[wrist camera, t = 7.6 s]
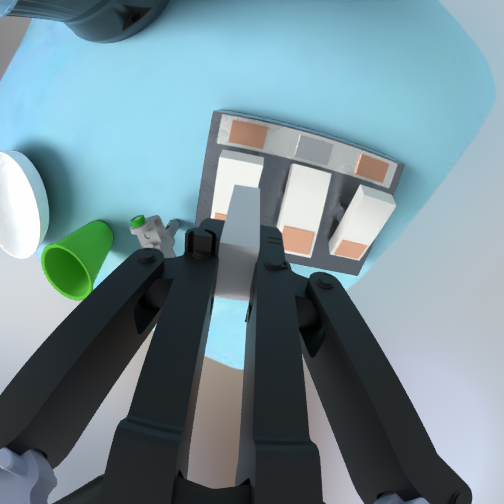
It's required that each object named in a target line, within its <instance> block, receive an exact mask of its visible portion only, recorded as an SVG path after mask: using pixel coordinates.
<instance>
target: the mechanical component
mask: <svg viewBox="0 0 504 504" xmlns="http://www.w3.org/2000/svg"><path fill="white" fill-rule="evenodd" d="M130 222H131V224H132V225H131V227H130V231H131V233H132V234H133V235H137V237H138V239H139V241H140V244H141V246H142V247H141V249H142V248H155V249H158V250H160V251H161V252H162V253H163V254H164V258H173V257H176V256H175V253H174V251H173V248H172V246H173V245H174V242H175V240H174V235H175V233H176V231H177V230H178V228H179V226H180V222H179V220H177V219H175V220H174V221H172V220H170V222H169V223H168V225H167V226H166V228H164V226H163V223H162V220H161V218H160V217H159V216H158V215H155V216H152V217H148V218H144V215H139V216H136V217H134V218H133V219H132V220H131V221H130Z"/></svg>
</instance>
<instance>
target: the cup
mask: <svg viewBox="0 0 504 504" xmlns="http://www.w3.org/2000/svg"><path fill="white" fill-rule="evenodd" d="M112 244H113V233H112V230H111V229H110V227H109V226H108V225H107V224H106V223H104V222H102V221H92V222H90V223H88V224H87V225H85V226H83V227H81V228H80V229H78V230H76V231H75V232H73V233H71V234H70V235H68V236H66V237H65V238H63V239H61V240H60V241H58V242H57V243H55V244H50V245H48V246H46V247H45V249H44V250H43V253H42V257H41V263H42V268H43V271H44V274H45V275H46V277H47V279H48V281H49V282H50V283H51V285H52V286H53V287H54V288H55V289H56V290H57V291H58V292H60V293H61V294H62V295H64V296H66V297H67V298H70V299H73V300H79V301H80V300H84V299H85V298H86V297H87V296H88V295H89V294H90V293H91V292H92V290H93V284H94V281H95V279H96V277H97V275H98V273H99V271H100V268H101V266H102V264H103V262H104V260H105V258H106V256H107V254H108V252H109V250H110V248H111V246H112Z"/></svg>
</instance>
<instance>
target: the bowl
mask: <svg viewBox="0 0 504 504" xmlns="http://www.w3.org/2000/svg"><path fill="white" fill-rule="evenodd" d="M48 225H49V205H48V198H47V193H46V189H45V186H44V183H43V181H42V179H41V176H40V174H39V173H38V171H37V170H36V168H35V167H34V165H33V164H32V163H31V161H30V160H29V159H28V158H27V157H26V156H24V155H23V154H22V153H20V152H17V151H12V150H1V151H0V247H1V248H2V249H3V250H4V251H5V252H7V253H8V254H10V255H11V256H14V257H16V258H22V259H24V258H29V257H30V256H32V255H33V254H34V253H35V252H36V250H37V249H38V248H39V246H40V245H41V244H42V242H43V239H44V237H45V235H46V232H47V230H48Z"/></svg>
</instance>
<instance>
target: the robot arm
mask: <svg viewBox="0 0 504 504" xmlns="http://www.w3.org/2000/svg"><path fill="white" fill-rule="evenodd" d="M168 2H169V0H0V17H3V16H18V17H30V18H39V19H47V20H54V21H60V22H64V23H65V24H66V25H67V26H68V27H69V28H70V29H71V30H72V31H73V32H74V33H75V34H76V35H77V36H79V37H80V38H82V39H84V40H87V41H92V42H96V43H112V42H117V41H120V40H123V39H125V38H128V37H130V36H132V35H134V34H136V33H137V32H139V31H140V30H142V29H143V28H145V27H146V26H147V25H149V24H150V23H151V22H152V21H153V20H154V19H155V18H156V17H157V16H158V15H159V14H160V13H161V12H162V11H163V9H164V8H165V7H166V5H167V3H168ZM214 297H221V298H228V299H235V300H242V301H249V305H248V310H247V315H246V319H245V322H247V327H246V343H245V360H244V376H243V393H242V409H241V427H240V443H239V458H238V466H237V471H236V480H235V487H228V488H221V489H211V488H208V487H205V486H202V485H200V484H197V483H194V482H192V481H189V480H187V473H188V462H189V461H188V460H189V450H190V442H191V436H192V429H193V422H194V415H195V408H196V402H197V395H198V390H199V383H200V377H201V371H202V365H203V359H204V354H205V348H206V342H207V337H208V331H209V326H210V320H211V315H212V309H213V303H214ZM249 297H250V300H249ZM156 324H157V325H156ZM155 325H156V328H155V331H154V334H153V337H152V340H151V343H150V346H149V349H148V352H147V354H146V357H145V361H144V364H143V367H142V370H141V373H140V376H139V379H138V383H137V386H136V389H135V393H134V396H133V400H132V403H131V406H130V410H129V413H128V415H127V417H126V418H124V419H123V420H121V421H120V423H119V424H118V426H117V429H116V431H115V434H114V438H113V441H112V445H111V449H110V454H109V457H108V461H107V466H106V470H105V474H103V475H101V476H98V477H97V478H95V479H93V480H92V481H90V482H88V483H87V484H85V485H84V486H82V487H81V488H79V489H77V490H75V491H74V492H72V493H71V494H69V495H67V496H65V497H64V498H62V499H60V500H58V501H56V502H55V503H53V504H326V503H324V502H323V497H322V479H321V466H320V456H319V450H318V448H317V445H316V444H315V443H313V442H312V441H311V439H310V436H309V426H308V414H307V402H306V392H305V381H304V371H303V361H302V354H303V357H304V359H305V362H306V364H307V367H308V369H309V372H310V375H311V377H312V380H313V382H314V385H315V387H316V390H317V392H318V395H319V397H320V400H321V402H322V405H323V408H324V410H325V412H326V415H327V418H328V420H329V423H330V425H331V428H332V431H333V433H334V436H335V438H336V441H337V444H338V446H339V449H340V451H341V454H342V457H343V459H344V462H345V464H346V467H347V470H348V472H349V475H350V477H351V480H352V482H353V485H354V486H355V489H356V491H357V493H358V495H359V496H360V498H361V499H362V501H363V502H364V504H471V503H472V492H471V489H470V488H469V487H468V485H467V484H466V483H465V482H464V481H463V480H462V479H461V478H460V477H459V476H458V475H457V474H456V473H455V472H454V471H453V470H452V469H451V468H450V467H449V466H448V465H447V463H446V462H445V461H443V459H442V458H440V456H439V455H438V454H437V452H436V450H435V448H434V446H433V444H432V442H431V440H430V438H429V436H428V434H427V432H426V430H425V427H424V426H423V424H422V422H421V420H420V418H419V416H418V414H417V412H416V410H415V408H414V406H413V404H412V402H411V400H410V399H409V397H408V395H407V393H406V391H405V389H404V388H403V386H402V384H401V382H400V380H399V379H398V377H397V375H396V373H395V372H394V370H393V368H392V366H391V365H390V363H389V361H388V359H387V358H386V356H385V354H384V352H383V351H382V349H381V347H380V346H379V344H378V342H377V341H376V339H375V337H374V336H373V334H372V332H371V331H370V329H369V327H368V326H367V324H366V323H365V321H364V319H363V318H362V316H361V314H360V313H359V311H358V310H357V308H356V307H355V305H354V303H353V302H352V300H351V299H350V297H349V296H348V294H347V292H346V291H345V289H344V288H343V286H342V285H341V283H340V282H339V281H338V279H337V278H335V277H334V276H332V275H331V274H328V273H325V272H315V273H313V274H311V275H310V277H309V278H306V277H303V276H300V275H298V274H296V273H294V272H293V271H291V266H290V264H289V263H288V262H287V261H286V260H285V252H284V245H283V237H282V233H281V232H280V230H279V229H278V228H276V227H270V226H264V225H260V188H254V187H248V186H242V185H234V189H233V193H232V196H231V200H230V204H229V208H228V212H227V216H226V220H219V219H212V218H206V219H205V220H203V221H202V222H201V223H200V226H199V227H196V228H192V229H190V230H188V231H187V232H186V233H185V252H184V255H182V256H179V257H173V258H164V254H163V253H162V252H161V251H160V250H158V249H155V248H142V249H139V250H137V251H135V252H134V253H133V254H131V255H130V256H129V257H128V258H127V259H126V260H125V261H124V262H123V263H121V264H120V265H119V266H118V267H117V268H116V269H115V270H114V271H113V272H112V273H111V274H110V275H109V276H108V277H107V278H105V279H104V280H103V281H102V282H101V283H100V284H99V285H98V286H97V287H96V288H95V289H94V290H93V291H92V292H91V293H90V294H89V295H88V296H87V297H86V298H85V299H84V300H83V301H82V302H81V303H80V304H79V305H78V306H77V307H76V308H75V309H74V310H73V311H72V312H71V313H70V314H69V315H68V316H67V318H66V319H65V320H64V321H63V322H62V323H61V324H60V325H59V326H58V327H57V328H56V329H55V330H54V331H53V332H52V334H51V335H50V336H49V337H48V338H47V339H46V340H45V341H44V342H43V344H42V345H41V346H40V347H39V348H38V349H37V351H36V352H35V353H34V354H33V355H32V356H31V357H30V359H29V360H28V361H27V362H26V363H25V365H24V366H23V367H22V368H21V369H20V371H19V372H18V373H17V374H16V376H15V377H14V378H13V379H12V381H11V382H10V383H9V385H8V386H7V387H6V389H5V390H4V391H3V392H2V394H1V395H0V504H47V499H48V495H49V494H50V492H51V491H52V490H53V488H55V487H56V485H57V479H56V477H55V475H54V472H53V469H54V468H55V467H57V466H58V465H59V464H60V463H61V462H62V461H63V460H64V459H65V458H66V457H67V455H68V454H69V453H70V451H71V450H72V448H73V447H74V446H75V444H76V442H77V441H78V439H79V438H80V436H81V434H82V433H83V431H84V430H85V428H86V427H87V425H88V423H89V422H90V420H91V419H92V417H93V416H94V414H95V413H96V411H97V409H98V408H99V407H100V405H101V403H102V402H103V400H104V399H105V397H106V396H107V394H108V393H109V391H110V390H111V388H112V387H113V385H114V384H115V383H116V381H117V380H118V378H119V377H120V375H121V374H122V372H123V371H124V369H125V368H126V366H127V365H128V364H129V362H130V360H131V359H132V358H133V356H134V355H135V353H136V352H137V351H138V349H139V348H140V346H141V345H142V343H143V342H144V341H145V339H146V338H147V336H148V335H149V334H150V332H151V331H152V329H153V328H154V327H155Z"/></svg>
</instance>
